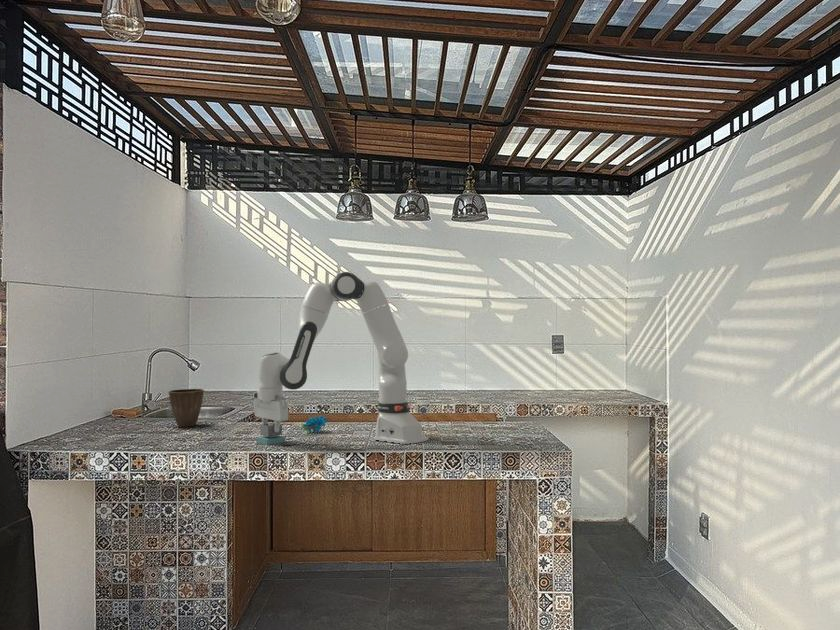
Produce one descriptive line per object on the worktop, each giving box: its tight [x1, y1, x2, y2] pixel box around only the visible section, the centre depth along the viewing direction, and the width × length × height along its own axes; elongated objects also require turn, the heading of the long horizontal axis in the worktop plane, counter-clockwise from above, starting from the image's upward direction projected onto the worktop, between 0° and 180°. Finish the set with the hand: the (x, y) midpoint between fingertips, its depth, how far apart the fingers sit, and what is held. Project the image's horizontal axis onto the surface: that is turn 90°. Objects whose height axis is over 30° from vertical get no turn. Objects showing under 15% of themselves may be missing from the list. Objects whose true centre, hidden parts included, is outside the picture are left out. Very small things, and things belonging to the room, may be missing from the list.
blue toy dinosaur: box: [301, 414, 328, 435], centre depth 273 cm, size 11×6×10 cm
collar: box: [259, 422, 283, 437], centre depth 252 cm, size 6×6×4 cm
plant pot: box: [168, 388, 205, 428], centre depth 292 cm, size 15×15×16 cm
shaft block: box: [255, 424, 286, 446], centre depth 252 cm, size 8×8×7 cm
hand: (271, 430), depth 252 cm, fingers closed on collar, 6 cm apart
